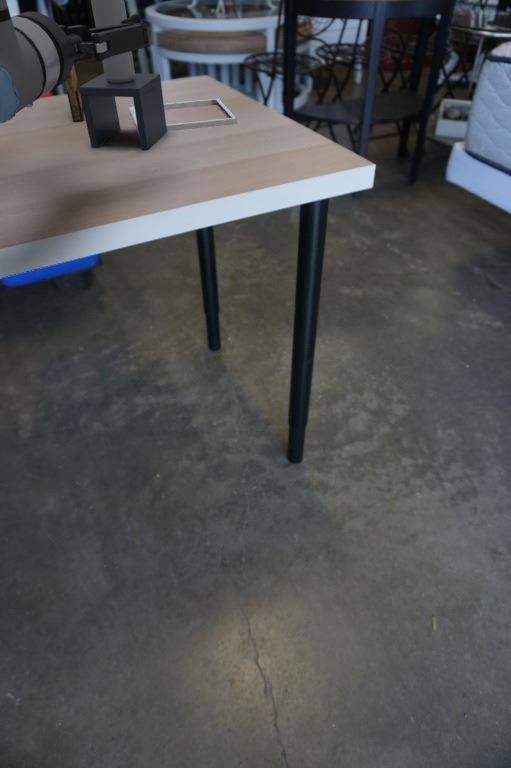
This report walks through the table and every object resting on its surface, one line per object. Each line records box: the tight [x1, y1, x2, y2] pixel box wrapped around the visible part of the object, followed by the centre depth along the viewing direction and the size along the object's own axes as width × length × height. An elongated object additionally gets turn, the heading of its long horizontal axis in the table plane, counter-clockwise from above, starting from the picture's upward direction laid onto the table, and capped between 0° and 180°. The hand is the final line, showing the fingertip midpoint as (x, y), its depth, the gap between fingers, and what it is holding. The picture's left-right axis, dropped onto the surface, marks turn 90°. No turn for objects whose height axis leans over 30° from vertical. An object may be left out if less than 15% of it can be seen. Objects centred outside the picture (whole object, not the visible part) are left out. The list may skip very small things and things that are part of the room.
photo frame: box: [128, 98, 238, 135], centre depth 101 cm, size 15×1×18 cm
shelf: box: [79, 72, 168, 151], centre depth 89 cm, size 10×10×9 cm
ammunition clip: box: [64, 64, 85, 123], centre depth 100 cm, size 11×2×12 cm, turn 13°
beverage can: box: [90, 0, 136, 83], centre depth 82 cm, size 5×5×12 cm
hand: (91, 26), depth 75 cm, fingers open, 13 cm apart
